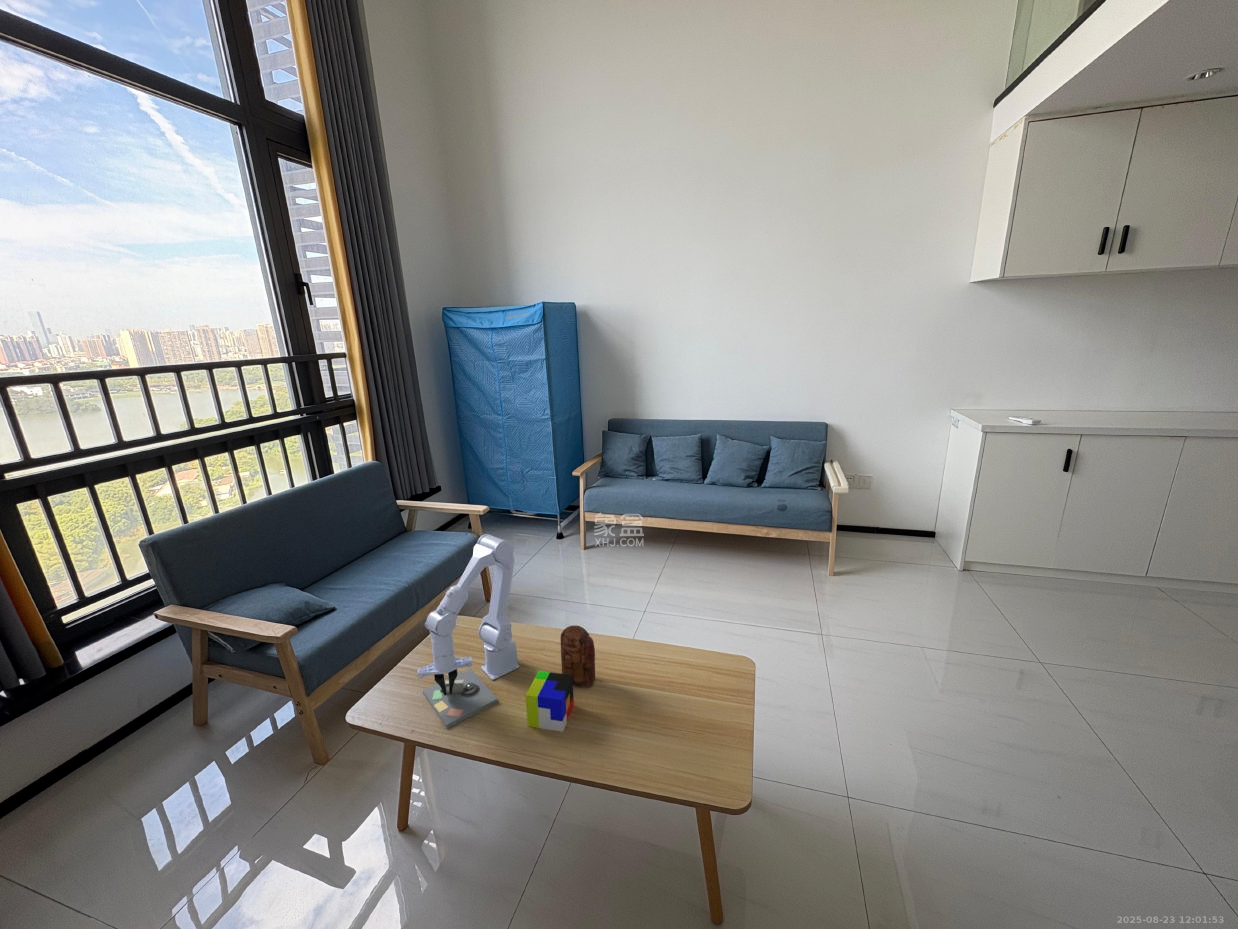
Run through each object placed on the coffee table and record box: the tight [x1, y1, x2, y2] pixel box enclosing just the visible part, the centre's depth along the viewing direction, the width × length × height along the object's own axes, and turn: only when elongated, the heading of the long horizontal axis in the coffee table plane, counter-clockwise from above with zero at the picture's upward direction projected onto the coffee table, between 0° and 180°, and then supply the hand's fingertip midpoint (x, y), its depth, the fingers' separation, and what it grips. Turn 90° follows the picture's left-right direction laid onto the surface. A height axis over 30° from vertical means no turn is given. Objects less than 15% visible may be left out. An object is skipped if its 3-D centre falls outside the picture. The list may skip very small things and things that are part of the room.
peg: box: [440, 680, 477, 695], centre depth 144 cm, size 10×4×3 cm, turn 94°
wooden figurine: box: [560, 625, 596, 689], centre depth 148 cm, size 12×6×18 cm, turn 72°
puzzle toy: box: [525, 670, 575, 733], centre depth 135 cm, size 10×10×10 cm
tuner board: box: [422, 668, 498, 729], centre depth 143 cm, size 15×18×1 cm
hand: (448, 692), depth 141 cm, fingers closed
